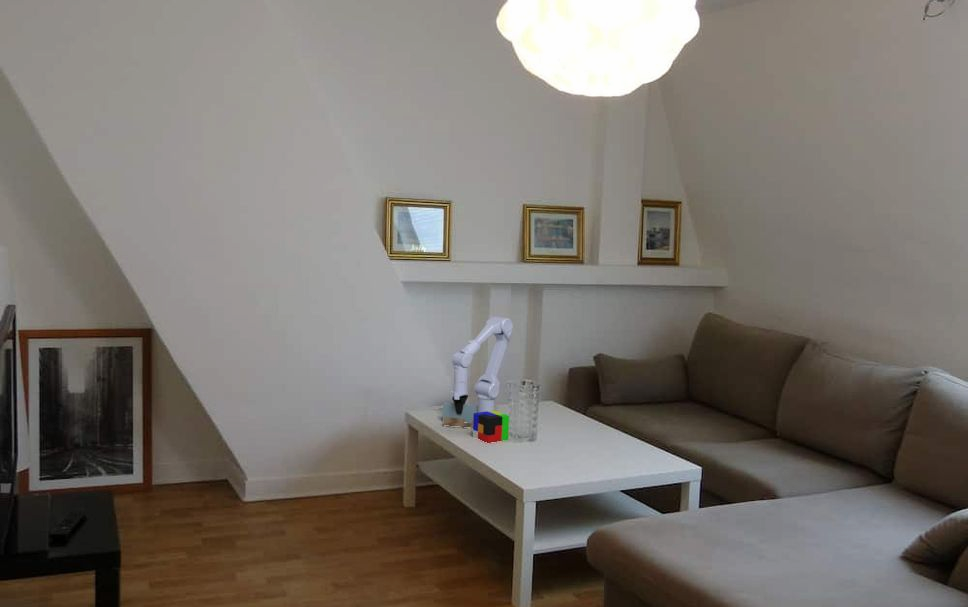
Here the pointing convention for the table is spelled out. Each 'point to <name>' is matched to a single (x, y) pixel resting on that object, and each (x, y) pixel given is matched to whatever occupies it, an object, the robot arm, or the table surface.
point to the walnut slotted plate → (457, 422)
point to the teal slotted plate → (466, 414)
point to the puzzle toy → (491, 426)
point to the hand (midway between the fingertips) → (459, 413)
